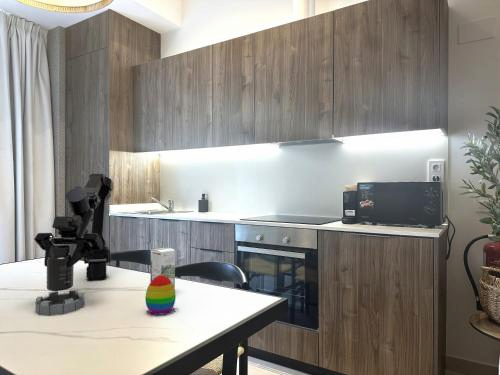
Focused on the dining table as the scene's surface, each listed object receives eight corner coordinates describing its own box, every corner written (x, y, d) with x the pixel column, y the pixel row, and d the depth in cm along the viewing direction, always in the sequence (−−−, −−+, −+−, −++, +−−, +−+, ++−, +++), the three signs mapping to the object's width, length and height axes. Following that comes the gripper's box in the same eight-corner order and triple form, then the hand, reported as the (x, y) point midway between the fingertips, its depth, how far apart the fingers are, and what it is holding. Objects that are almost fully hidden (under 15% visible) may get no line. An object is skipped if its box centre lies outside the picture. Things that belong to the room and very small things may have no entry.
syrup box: (164, 289, 118) (164, 247, 119) (175, 293, 115) (175, 248, 115) (149, 293, 114) (150, 249, 114) (161, 297, 110) (161, 251, 110)
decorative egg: (181, 311, 97) (181, 275, 97) (153, 318, 92) (153, 280, 92) (166, 304, 103) (167, 270, 103) (140, 310, 98) (140, 274, 98)
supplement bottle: (41, 289, 99) (41, 247, 99) (63, 283, 105) (64, 243, 105) (56, 292, 96) (56, 249, 96) (78, 286, 102) (78, 245, 102)
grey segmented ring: (86, 299, 108) (86, 288, 108) (80, 312, 97) (80, 299, 97) (41, 303, 104) (41, 291, 104) (31, 317, 93) (31, 304, 93)
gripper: (38, 206, 105) (11, 249, 94) (98, 206, 104) (78, 249, 93) (54, 229, 113) (31, 271, 102) (110, 229, 112) (93, 272, 101)
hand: (57, 266), depth 99 cm, fingers closed on supplement bottle, 7 cm apart
